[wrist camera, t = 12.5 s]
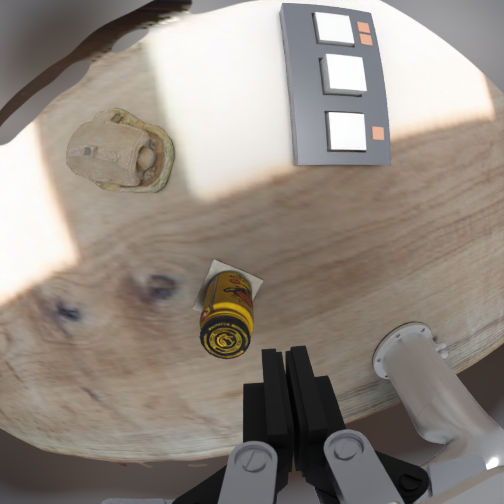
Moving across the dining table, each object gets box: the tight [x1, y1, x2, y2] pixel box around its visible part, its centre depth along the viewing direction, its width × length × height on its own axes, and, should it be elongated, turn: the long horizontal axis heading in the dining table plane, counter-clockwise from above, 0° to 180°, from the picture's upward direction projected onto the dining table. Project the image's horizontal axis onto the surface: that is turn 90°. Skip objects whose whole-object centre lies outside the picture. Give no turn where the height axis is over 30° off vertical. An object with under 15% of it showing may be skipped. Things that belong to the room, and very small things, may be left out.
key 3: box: [325, 112, 366, 150], centre depth 30 cm, size 4×4×4 cm
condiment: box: [192, 259, 264, 359], centre depth 34 cm, size 7×8×12 cm
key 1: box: [312, 12, 354, 47], centre depth 26 cm, size 4×4×4 cm
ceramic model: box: [66, 108, 174, 193], centre depth 28 cm, size 14×11×10 cm
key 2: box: [319, 54, 367, 97], centre depth 27 cm, size 4×4×4 cm
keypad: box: [280, 3, 391, 166], centre depth 29 cm, size 12×22×3 cm, turn 4°
